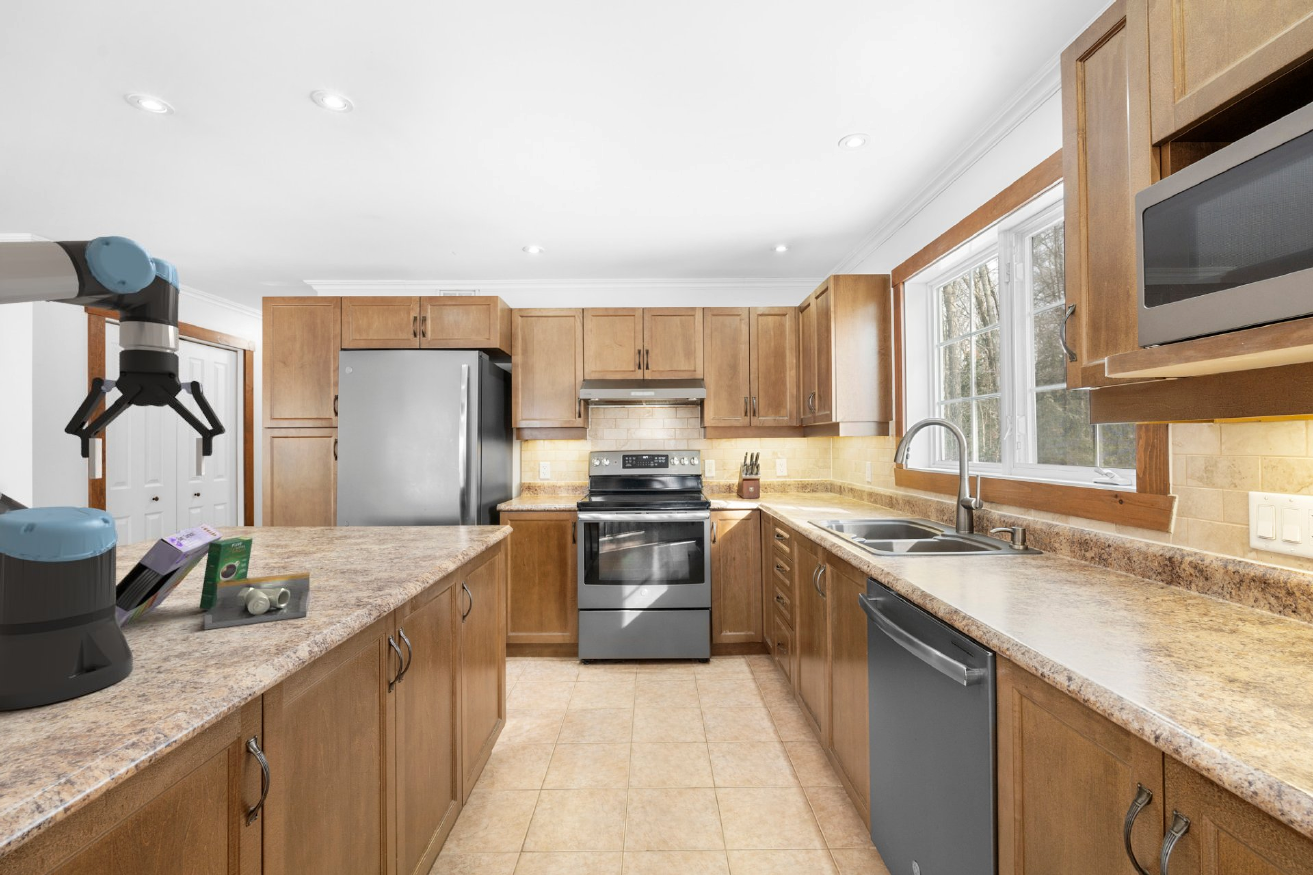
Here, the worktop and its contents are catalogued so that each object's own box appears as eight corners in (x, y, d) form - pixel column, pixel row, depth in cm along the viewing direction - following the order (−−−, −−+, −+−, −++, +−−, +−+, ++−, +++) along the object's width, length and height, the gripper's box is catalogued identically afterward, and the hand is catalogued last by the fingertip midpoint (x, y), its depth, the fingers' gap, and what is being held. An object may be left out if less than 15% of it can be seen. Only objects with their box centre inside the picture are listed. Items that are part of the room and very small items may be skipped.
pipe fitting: (263, 618, 103) (290, 605, 109) (261, 597, 102) (289, 585, 109) (222, 617, 104) (252, 604, 110) (221, 596, 103) (250, 584, 110)
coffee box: (232, 597, 118) (241, 534, 118) (245, 599, 118) (254, 537, 118) (197, 609, 110) (207, 541, 110) (211, 611, 110) (220, 544, 109)
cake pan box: (106, 639, 95) (184, 550, 99) (75, 624, 94) (155, 534, 97) (161, 608, 113) (225, 534, 117) (136, 595, 112) (201, 520, 116)
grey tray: (306, 616, 106) (305, 586, 106) (204, 629, 99) (204, 597, 99) (310, 599, 118) (310, 572, 118) (219, 610, 110) (219, 581, 111)
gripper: (243, 358, 106) (243, 473, 105) (57, 349, 94) (57, 478, 94) (236, 353, 99) (236, 475, 99) (36, 342, 87) (35, 481, 87)
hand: (149, 477), depth 96 cm, fingers open, 13 cm apart
